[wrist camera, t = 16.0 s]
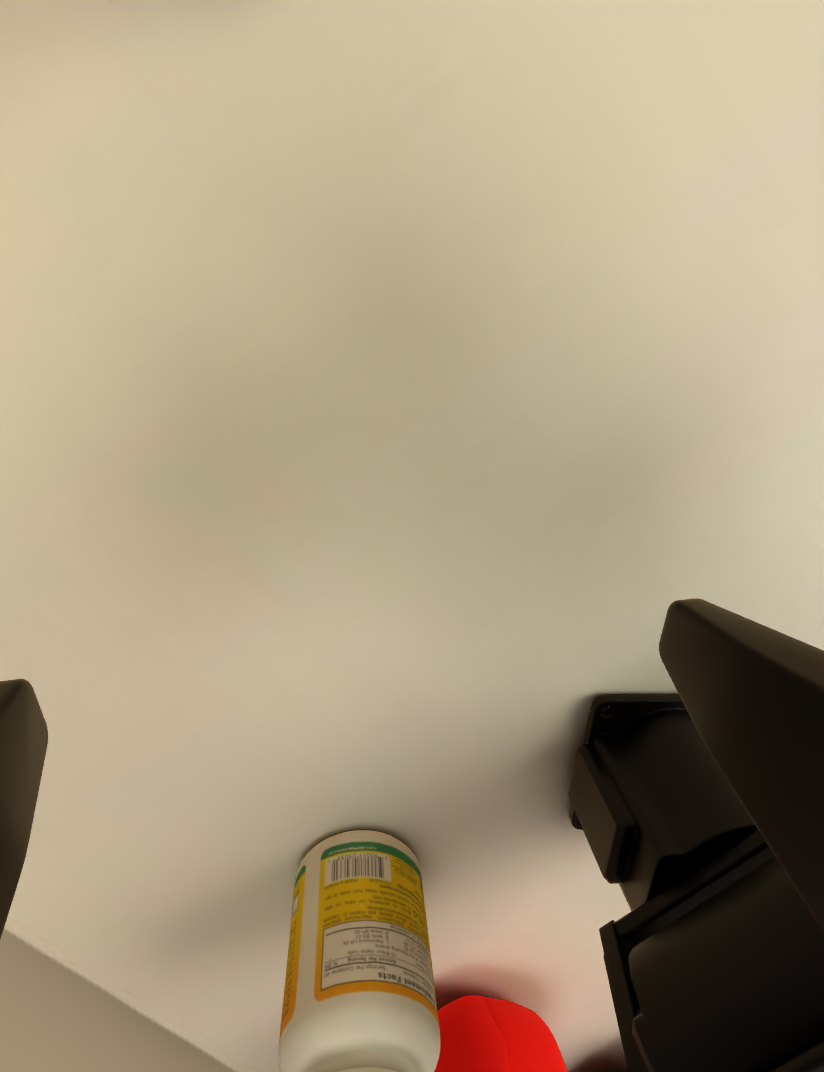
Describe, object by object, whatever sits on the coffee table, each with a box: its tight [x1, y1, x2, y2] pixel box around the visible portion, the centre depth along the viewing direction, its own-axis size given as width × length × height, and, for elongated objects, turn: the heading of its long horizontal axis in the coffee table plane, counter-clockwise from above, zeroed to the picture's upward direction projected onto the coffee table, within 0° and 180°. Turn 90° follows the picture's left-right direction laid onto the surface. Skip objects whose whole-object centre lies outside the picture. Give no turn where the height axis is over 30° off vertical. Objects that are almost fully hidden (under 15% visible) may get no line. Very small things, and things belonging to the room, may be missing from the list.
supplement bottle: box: [279, 830, 440, 1072], centre depth 22 cm, size 5×5×10 cm
